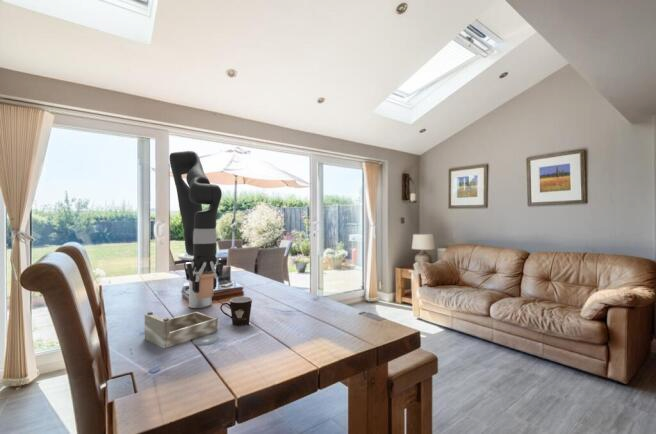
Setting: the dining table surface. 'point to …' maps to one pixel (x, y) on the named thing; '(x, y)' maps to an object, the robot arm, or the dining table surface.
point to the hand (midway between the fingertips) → (204, 290)
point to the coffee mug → (239, 310)
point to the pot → (205, 285)
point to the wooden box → (178, 328)
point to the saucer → (205, 340)
